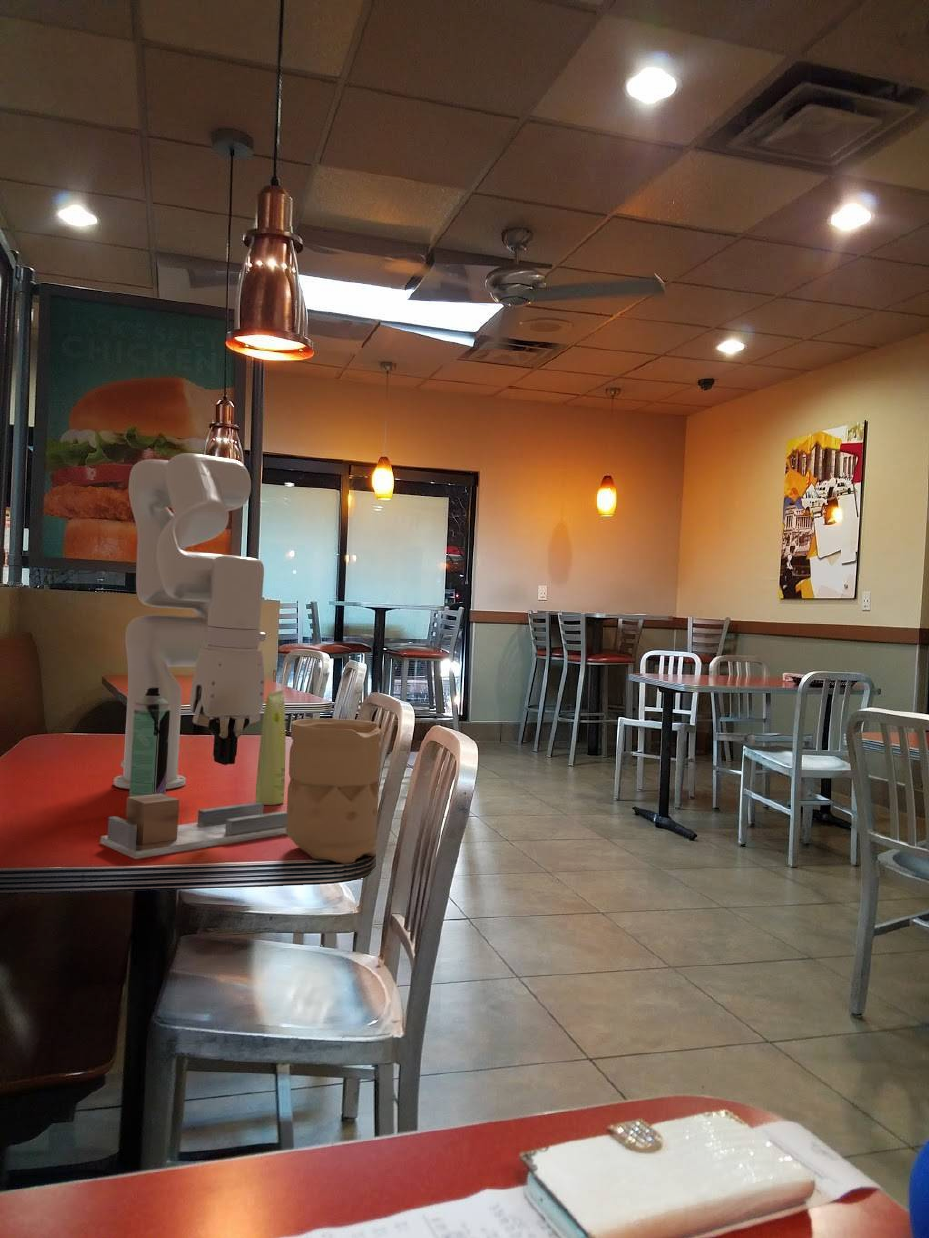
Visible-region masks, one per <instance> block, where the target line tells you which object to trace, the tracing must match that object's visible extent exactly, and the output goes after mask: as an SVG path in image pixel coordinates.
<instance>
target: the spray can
mask: <svg viewBox="0 0 929 1238" xmlns="http://www.w3.org/2000/svg"><path fill="white" fill-rule="evenodd" d="M161 697H162V695H160V693H159V688H158V687H152V688H149V689H148V690H147V693H146V695H144V698H142V699H140V700H139V701H137V702H135V704H136V706H135V707H134V724H133V742H132V760H131V778H130V789H129V796H128V797H134V796H143V795H151V794H160V793H161V794H164V795H167V794H166V792H167V789H166V775H167V757H168V739H169V721H170V707H169V705H170V703H169V702H167V701H166V700H165V699H163V698H161Z"/></svg>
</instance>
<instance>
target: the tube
mask: <svg viewBox="0 0 929 1238" xmlns="http://www.w3.org/2000/svg"><path fill="white" fill-rule="evenodd" d="M266 697H267V698H266V701H265V704H264V711H263V719H262V727H261V735H260V743H259V752H258V763H257V771H256V772H257V773H256V783H255V784H256V785H255V795H254V797H255V798H254V801H255V802H260V803H263V804H264V805H265V806H266V805H267V806H274V805H275V806H276V805H281V804H283V803H284V802H285V784H286V783H285V782H286V744H287V743H286V742H287V741H286V704H285V694H284V689H281V690H276V691H272V692H269V693H267V696H266ZM255 802H254V803H255Z"/></svg>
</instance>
